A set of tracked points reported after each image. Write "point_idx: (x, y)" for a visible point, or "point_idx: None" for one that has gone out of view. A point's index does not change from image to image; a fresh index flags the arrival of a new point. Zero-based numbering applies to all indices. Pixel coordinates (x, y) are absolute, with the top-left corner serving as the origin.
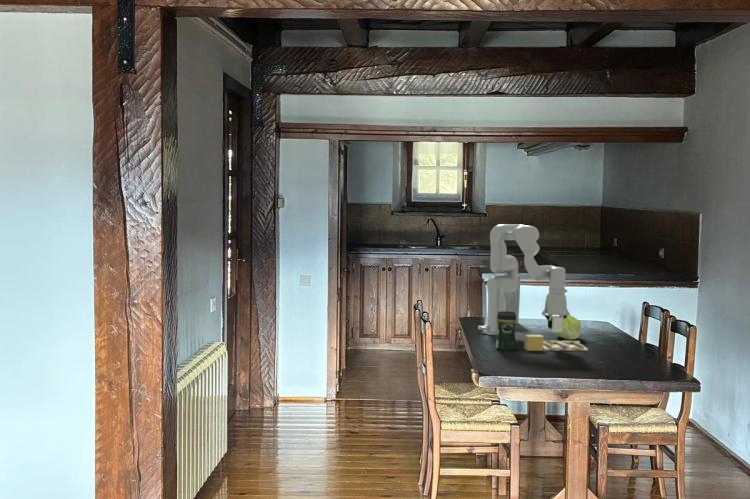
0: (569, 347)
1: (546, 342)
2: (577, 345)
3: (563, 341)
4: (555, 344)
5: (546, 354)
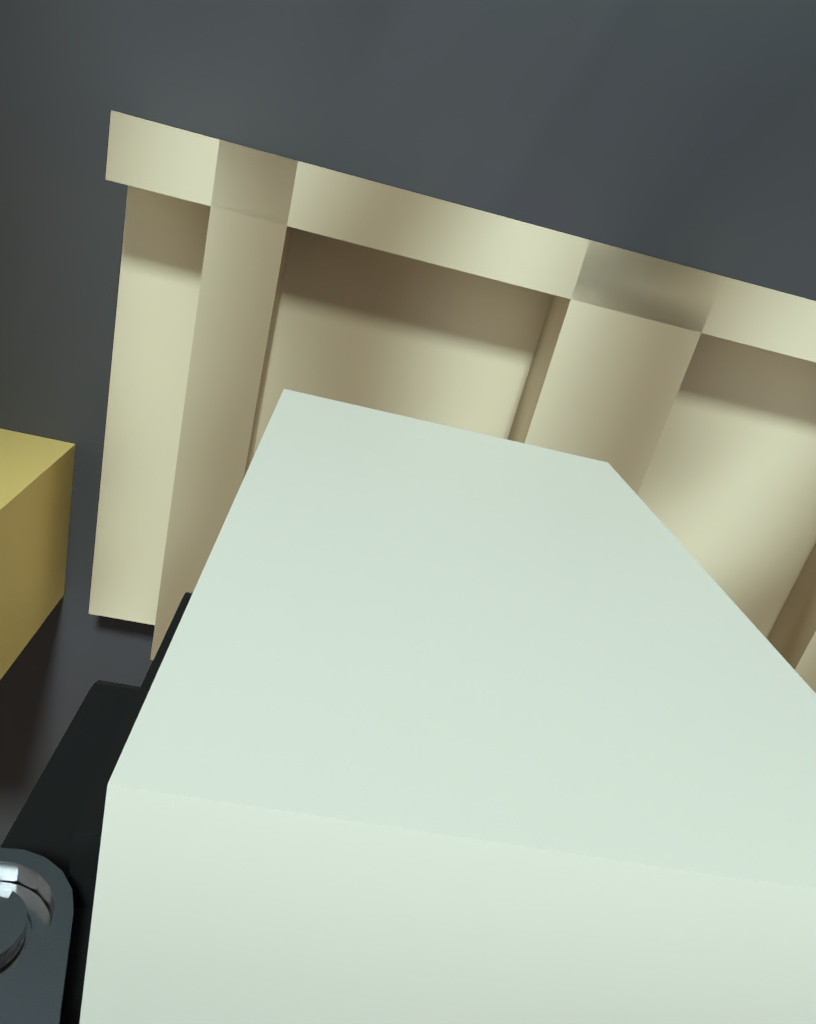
0: None
1: (245, 393)
2: (807, 591)
3: (735, 339)
4: (515, 326)
5: (7, 819)
